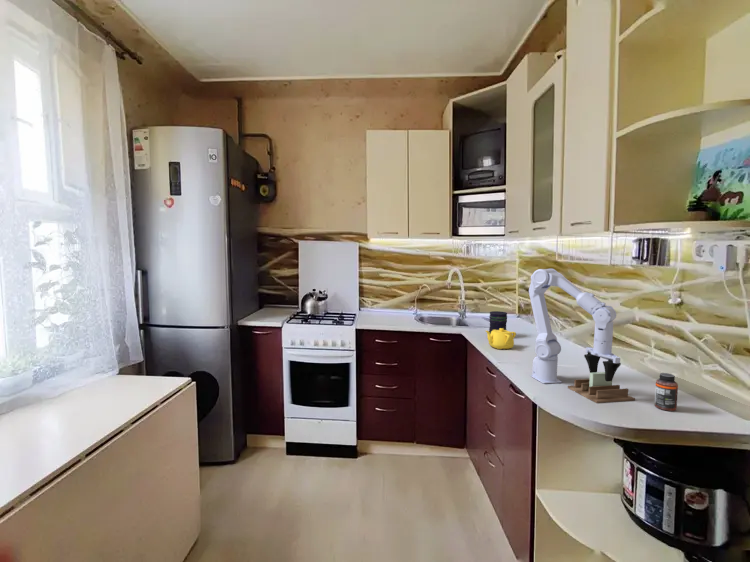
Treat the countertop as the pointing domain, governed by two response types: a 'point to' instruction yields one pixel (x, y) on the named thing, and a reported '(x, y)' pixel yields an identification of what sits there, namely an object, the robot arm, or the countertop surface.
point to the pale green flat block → (598, 379)
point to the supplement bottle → (666, 392)
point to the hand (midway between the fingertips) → (600, 377)
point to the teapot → (501, 338)
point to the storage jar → (497, 320)
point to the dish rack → (601, 392)
